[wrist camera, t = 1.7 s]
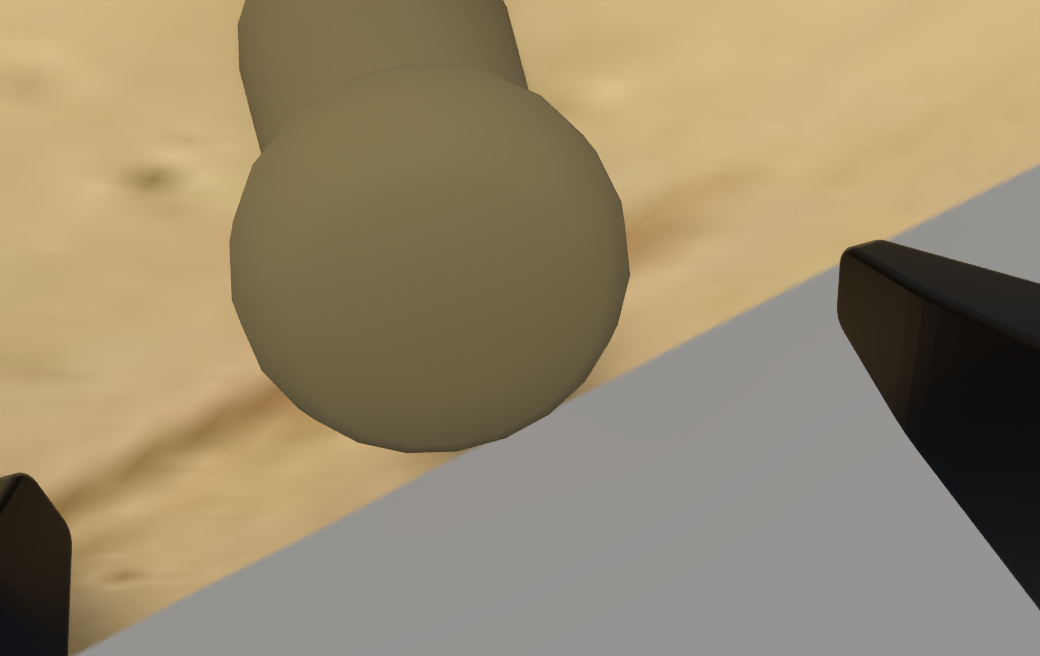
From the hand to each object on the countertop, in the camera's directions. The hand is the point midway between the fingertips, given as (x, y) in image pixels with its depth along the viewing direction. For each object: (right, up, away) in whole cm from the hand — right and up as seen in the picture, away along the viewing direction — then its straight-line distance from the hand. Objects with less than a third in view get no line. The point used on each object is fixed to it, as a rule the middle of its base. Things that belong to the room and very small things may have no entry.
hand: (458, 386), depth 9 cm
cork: (-2, +7, +10) cm, 12 cm away
